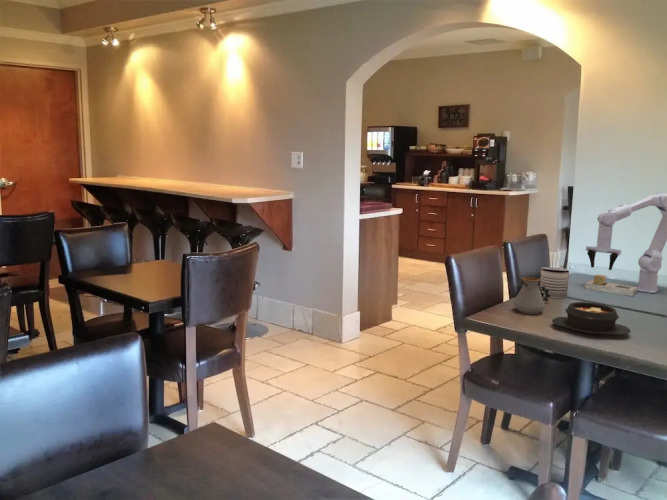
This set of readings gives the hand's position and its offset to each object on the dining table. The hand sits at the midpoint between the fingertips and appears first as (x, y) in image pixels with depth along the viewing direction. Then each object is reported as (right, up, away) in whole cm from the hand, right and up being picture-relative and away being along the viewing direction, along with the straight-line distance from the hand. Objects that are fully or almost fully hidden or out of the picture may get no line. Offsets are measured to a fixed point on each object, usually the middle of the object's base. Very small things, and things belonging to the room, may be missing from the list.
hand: (601, 268), depth 271 cm
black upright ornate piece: (-40, -14, -29) cm, 51 cm away
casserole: (-32, -20, -63) cm, 74 cm away
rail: (+4, -10, -1) cm, 11 cm away
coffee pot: (-48, -16, -45) cm, 68 cm away
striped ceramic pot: (-27, -11, -13) cm, 32 cm away
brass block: (0, -9, +2) cm, 10 cm away
